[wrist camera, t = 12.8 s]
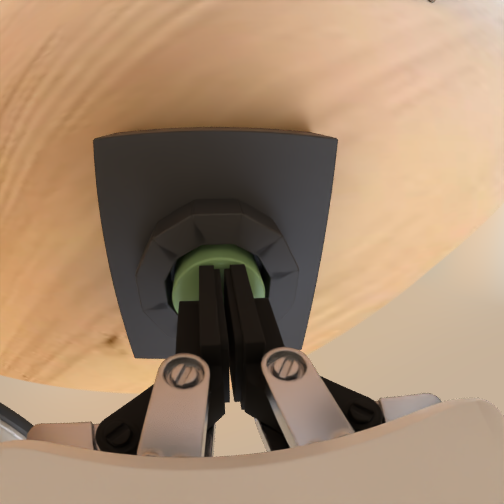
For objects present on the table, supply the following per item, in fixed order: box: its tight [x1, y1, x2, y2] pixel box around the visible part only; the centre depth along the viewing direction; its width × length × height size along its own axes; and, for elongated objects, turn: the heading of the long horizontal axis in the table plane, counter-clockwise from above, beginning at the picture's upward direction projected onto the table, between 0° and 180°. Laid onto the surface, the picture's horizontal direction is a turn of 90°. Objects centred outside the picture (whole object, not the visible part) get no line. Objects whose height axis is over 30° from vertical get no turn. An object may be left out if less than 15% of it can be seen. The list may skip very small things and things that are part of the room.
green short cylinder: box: [172, 244, 265, 313], centre depth 12 cm, size 4×4×2 cm
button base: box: [93, 127, 338, 359], centre depth 13 cm, size 12×10×5 cm
